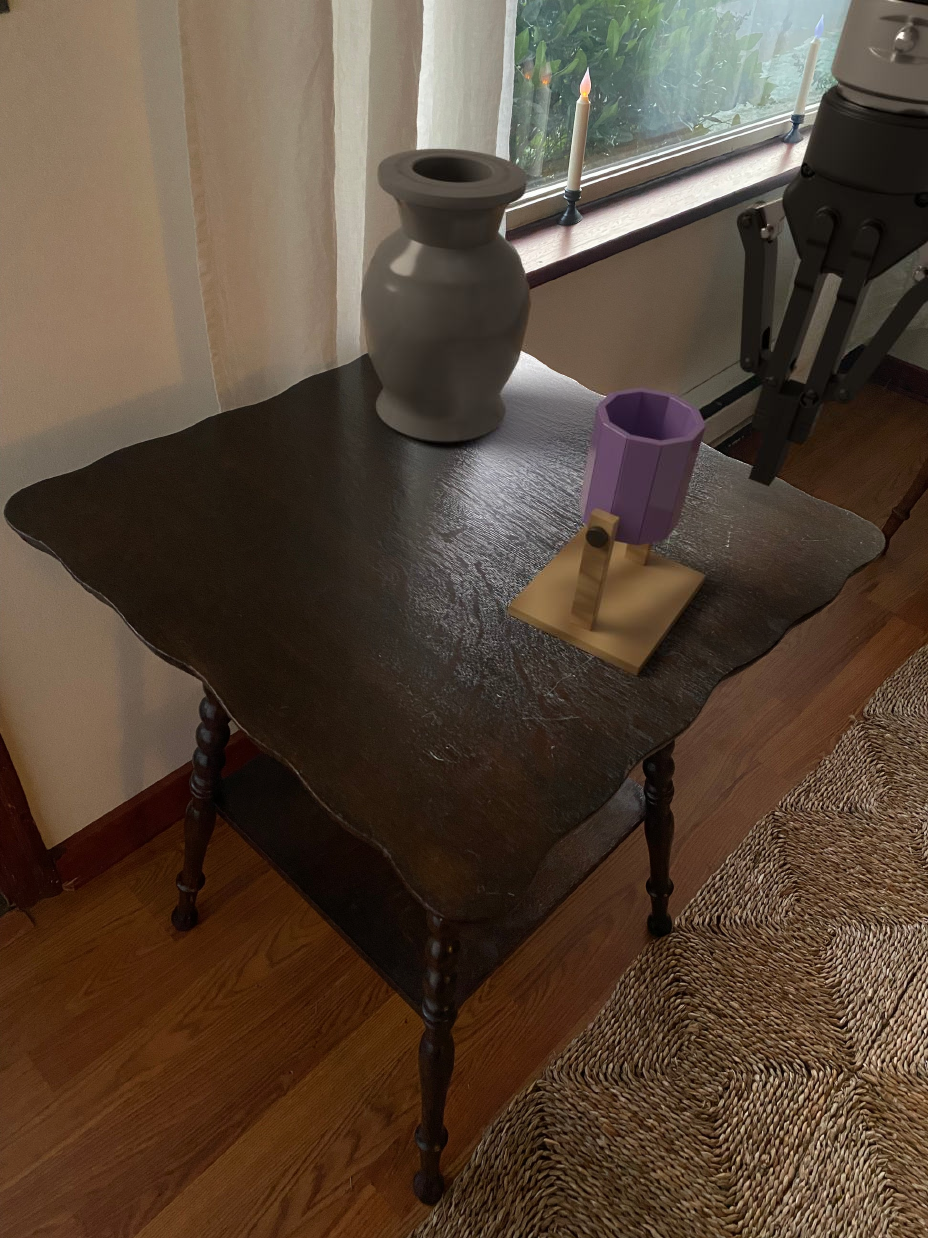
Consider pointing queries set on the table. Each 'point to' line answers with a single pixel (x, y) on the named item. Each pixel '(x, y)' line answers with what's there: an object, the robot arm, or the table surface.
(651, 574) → the swivel stand
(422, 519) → the table surface
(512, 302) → the vase
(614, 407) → the cup
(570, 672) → the table surface
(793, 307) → the robot arm
